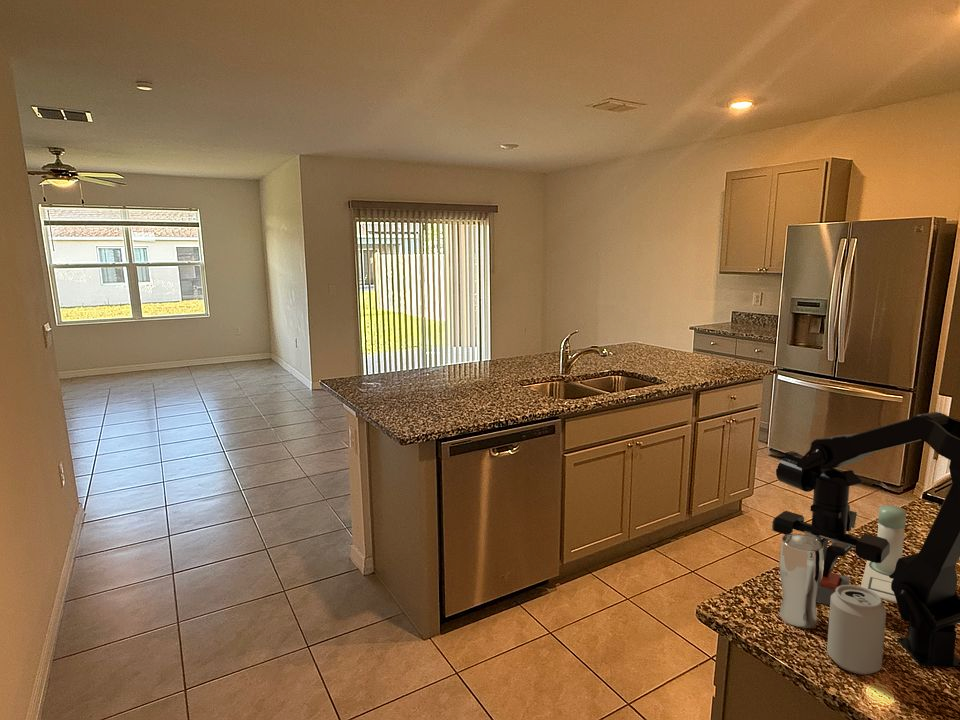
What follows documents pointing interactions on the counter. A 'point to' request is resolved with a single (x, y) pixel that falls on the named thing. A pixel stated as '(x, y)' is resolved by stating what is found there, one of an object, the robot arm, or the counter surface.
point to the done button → (831, 580)
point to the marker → (891, 535)
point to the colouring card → (878, 582)
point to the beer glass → (800, 578)
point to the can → (856, 629)
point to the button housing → (830, 591)
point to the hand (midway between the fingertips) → (825, 576)
